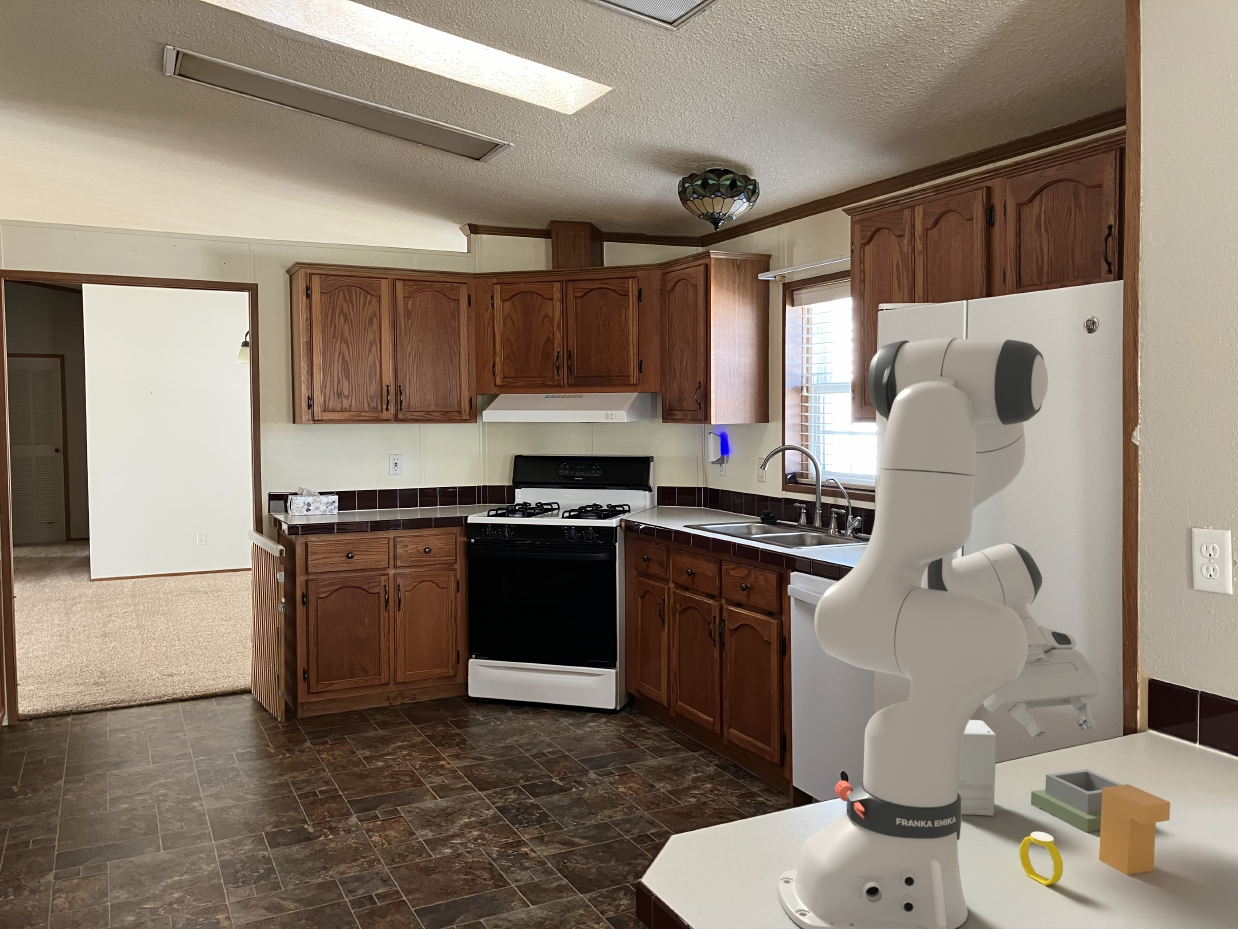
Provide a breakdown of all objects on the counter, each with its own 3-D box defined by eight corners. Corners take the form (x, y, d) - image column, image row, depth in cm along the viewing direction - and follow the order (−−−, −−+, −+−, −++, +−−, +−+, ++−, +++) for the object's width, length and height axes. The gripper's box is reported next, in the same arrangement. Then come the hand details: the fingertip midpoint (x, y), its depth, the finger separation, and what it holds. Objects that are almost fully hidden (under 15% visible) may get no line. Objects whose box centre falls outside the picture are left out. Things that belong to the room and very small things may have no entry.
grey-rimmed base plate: (1086, 832, 140) (1088, 798, 140) (1030, 803, 150) (1032, 772, 150) (1143, 823, 144) (1145, 790, 144) (1085, 796, 154) (1086, 765, 154)
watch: (1065, 890, 123) (1070, 846, 122) (1049, 894, 122) (1053, 849, 121) (1029, 866, 129) (1033, 824, 128) (1013, 870, 127) (1017, 827, 127)
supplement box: (981, 798, 152) (984, 719, 152) (994, 817, 145) (997, 734, 144) (933, 795, 153) (936, 717, 153) (944, 814, 146) (947, 732, 145)
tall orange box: (1099, 859, 131) (1102, 787, 131) (1124, 855, 133) (1128, 784, 132) (1140, 882, 125) (1143, 806, 125) (1166, 877, 127) (1170, 802, 126)
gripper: (973, 642, 143) (1019, 727, 134) (1080, 634, 150) (1130, 715, 141) (952, 664, 147) (995, 748, 139) (1057, 656, 154) (1104, 735, 146)
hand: (1064, 731), depth 140 cm, fingers open, 8 cm apart
